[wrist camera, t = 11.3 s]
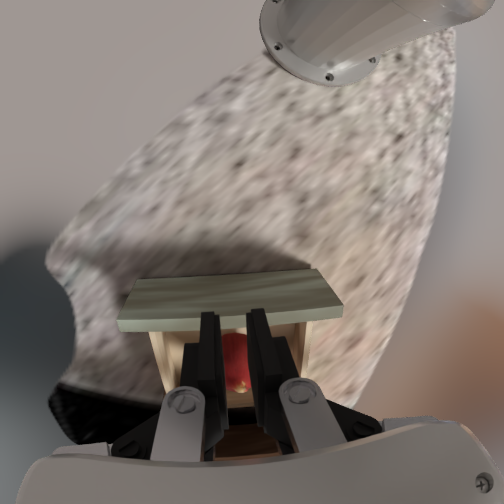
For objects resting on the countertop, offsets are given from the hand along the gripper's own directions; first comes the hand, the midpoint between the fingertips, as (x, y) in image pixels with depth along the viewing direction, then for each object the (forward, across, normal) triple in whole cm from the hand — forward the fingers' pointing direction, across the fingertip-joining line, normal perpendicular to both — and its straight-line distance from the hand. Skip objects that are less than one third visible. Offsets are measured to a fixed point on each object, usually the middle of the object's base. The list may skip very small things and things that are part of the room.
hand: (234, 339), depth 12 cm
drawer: (+17, 0, +12) cm, 21 cm away
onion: (+16, 0, +12) cm, 20 cm away
